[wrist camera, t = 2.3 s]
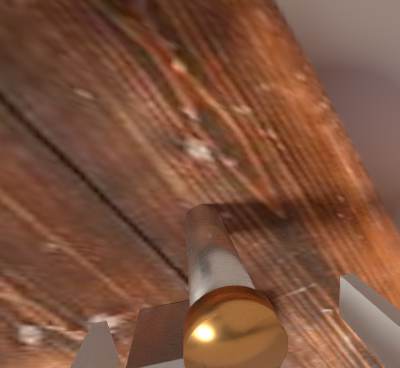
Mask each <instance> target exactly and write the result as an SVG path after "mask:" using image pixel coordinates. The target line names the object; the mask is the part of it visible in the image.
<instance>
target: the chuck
mask: <svg viewBox="0 0 400 368" xmlns="http://www.w3.org/2000/svg"><path fill="white" fill-rule="evenodd" d="M189 308H190V300H188V301H183V302H178V303H173V304H168V305H163V306H158V307H153V308H147V309H142V310H140V311H139V315H138V319H137V323H136V328H135V332H134V336H133V340H132V345H131V349H130V353H129V357H128V362H127V366H126V368H185V366H184V358H183V323H184V319H185V316H186V314H187V312H188V310H189Z"/></svg>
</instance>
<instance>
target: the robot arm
mask: <svg viewBox="0 0 400 368" xmlns="http://www.w3.org/2000/svg"><path fill="white" fill-rule="evenodd" d="M339 315H340V316H341V317H342V319H343V320H344V321H345V322H346V323H347V324H348V325H349V326H350V328H351V329H352V330H353V331H354V332H355V333H356V334H357V335H358V337H359V338H360V339H361V340H362V341H363V342H364V343H365V344H366V346H367V347H368V348H369V349H370V350H371V351H372V352H373V353H374V355H375V356H376V357H377V358H378V359H379V360H380V361H381V362H382V364H383V365H384V366H385V367H386V368H400V310H399V309H398V308H396V307H395V306H394V305H393V304H391V303H390V302H389V301H388V300H386V299H385V298H384V297H383V296H381V295H380V294H379V293H378V292H376V291H375V290H374V289H372V288H371V287H370V286H369V285H367V284H366V283H365V282H364V281H362V280H361V279H360V278H359V277H357V276H356V275H355V274H354V273H352V274H347V275H342V276H341V277H340V302H339ZM118 361H119V357H118V354H117V351H116V348H115V345H114V342H113V339H112V336H111V333H110V330H109V327H108V324H107V321H103V322H98V323H93V324H92V325H91V327H90V329H89V331H88V333H87V335H86V337H85V339H84V341H83V343H82V345H81V347H80V349H79V351H78V353H77V355H76V358H75V360H74V362H73V364H72V366H71V368H117V365H118Z"/></svg>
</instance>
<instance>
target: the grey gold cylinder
mask: <svg viewBox="0 0 400 368" xmlns="http://www.w3.org/2000/svg"><path fill="white" fill-rule="evenodd" d="M185 226H186V245H187V263H188V282H189V300H190V308H189V310H188V312H187V314H186V316H185V319H184V323H183V358H184V366H185V368H279V367H280V366H281V364H282V363H283V361H284V359H285V357H286V354H287V350H288V337H287V334H286V331H285V329H284V327H283V326H282V324H281V322H280V320H279V318H278V316H277V314H276V312H275V311H274V309H273V307H272V305H271V303H270V301H269V300H268V299H267V298H266V297H265V296H264V295H263V294H262V293H261V292H259V291H257V290H255V288H254V286H253V284H252V282H251V280H250V277H249V275H248V273H247V271H246V269H245V267H244V265H243V263H242V261H241V259H240V257H239V255H238V253H237V251H236V249H235V247H234V244H233V242H232V240H231V238H230V236H229V234H228V232H227V230H226V228H225V226H224V224H223V222H222V220H221V218H220V216H219V214H218V212H217V210H216V209H215V208H213V207H212V206H209V205H198V206H195V207H193V208H192V209H191V210H190V211H189V212H188V213H187V215H186V219H185Z"/></svg>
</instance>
